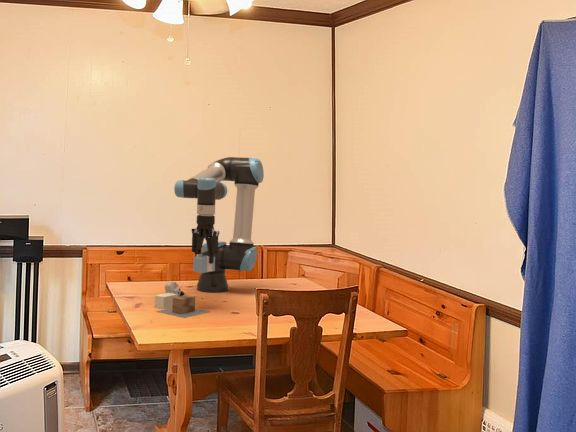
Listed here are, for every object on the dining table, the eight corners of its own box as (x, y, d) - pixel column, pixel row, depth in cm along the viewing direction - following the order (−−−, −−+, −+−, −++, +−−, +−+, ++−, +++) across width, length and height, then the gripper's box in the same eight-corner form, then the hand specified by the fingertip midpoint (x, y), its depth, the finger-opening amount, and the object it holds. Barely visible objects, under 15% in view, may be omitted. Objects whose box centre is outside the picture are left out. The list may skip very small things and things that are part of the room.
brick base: (185, 309, 288) (186, 294, 287) (194, 311, 285) (195, 296, 284) (172, 312, 281) (172, 297, 281) (181, 314, 278) (181, 299, 278)
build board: (182, 307, 294) (182, 305, 294) (211, 314, 285) (211, 311, 285) (155, 313, 281) (155, 311, 281) (184, 320, 272) (184, 318, 272)
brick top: (205, 269, 296) (206, 255, 295) (214, 271, 293) (215, 256, 293) (193, 271, 289) (193, 257, 289) (202, 273, 286) (202, 258, 286)
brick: (168, 306, 296) (168, 292, 296) (176, 308, 293) (177, 294, 293) (154, 309, 290) (155, 295, 289) (163, 311, 287) (163, 297, 286)
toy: (156, 288, 296) (170, 274, 310) (162, 313, 299) (176, 298, 313) (169, 287, 294) (183, 273, 308) (175, 312, 297) (189, 297, 311)
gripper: (183, 213, 291) (181, 268, 293) (216, 217, 281) (214, 274, 283) (195, 212, 297) (194, 266, 299) (228, 216, 287) (226, 272, 289)
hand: (204, 270), depth 291 cm, fingers closed on brick top, 5 cm apart
